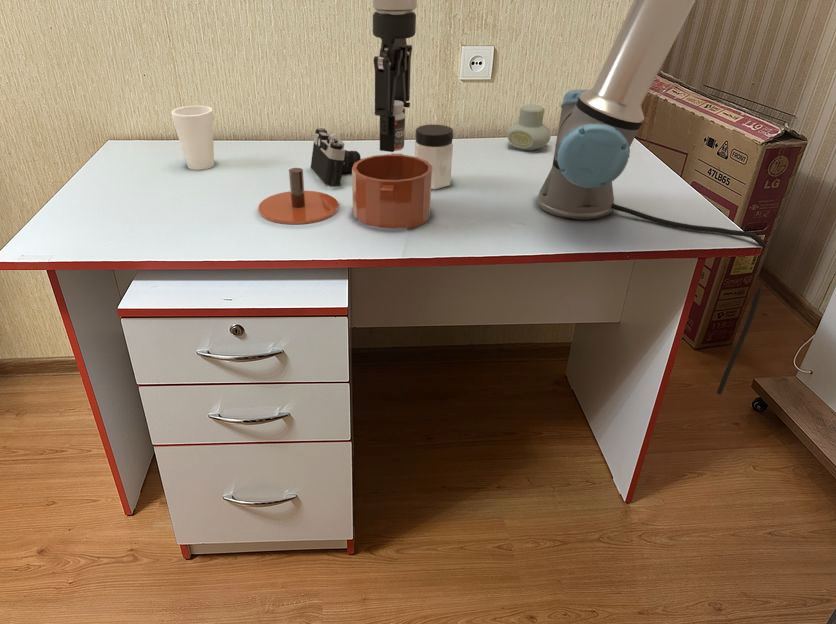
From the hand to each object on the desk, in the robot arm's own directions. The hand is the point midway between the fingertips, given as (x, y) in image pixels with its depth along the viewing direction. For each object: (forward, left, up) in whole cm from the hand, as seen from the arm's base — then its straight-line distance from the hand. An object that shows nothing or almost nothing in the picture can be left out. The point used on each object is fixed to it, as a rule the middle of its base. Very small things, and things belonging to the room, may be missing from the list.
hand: (392, 146), depth 123 cm
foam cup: (+55, +8, -14) cm, 57 cm away
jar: (+5, -20, -14) cm, 25 cm away
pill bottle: (0, 0, -1) cm, 1 cm away
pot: (0, 0, -14) cm, 14 cm away
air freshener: (+2, -57, -14) cm, 59 cm away
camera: (+24, -9, -14) cm, 29 cm away
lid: (+16, +11, -14) cm, 24 cm away
